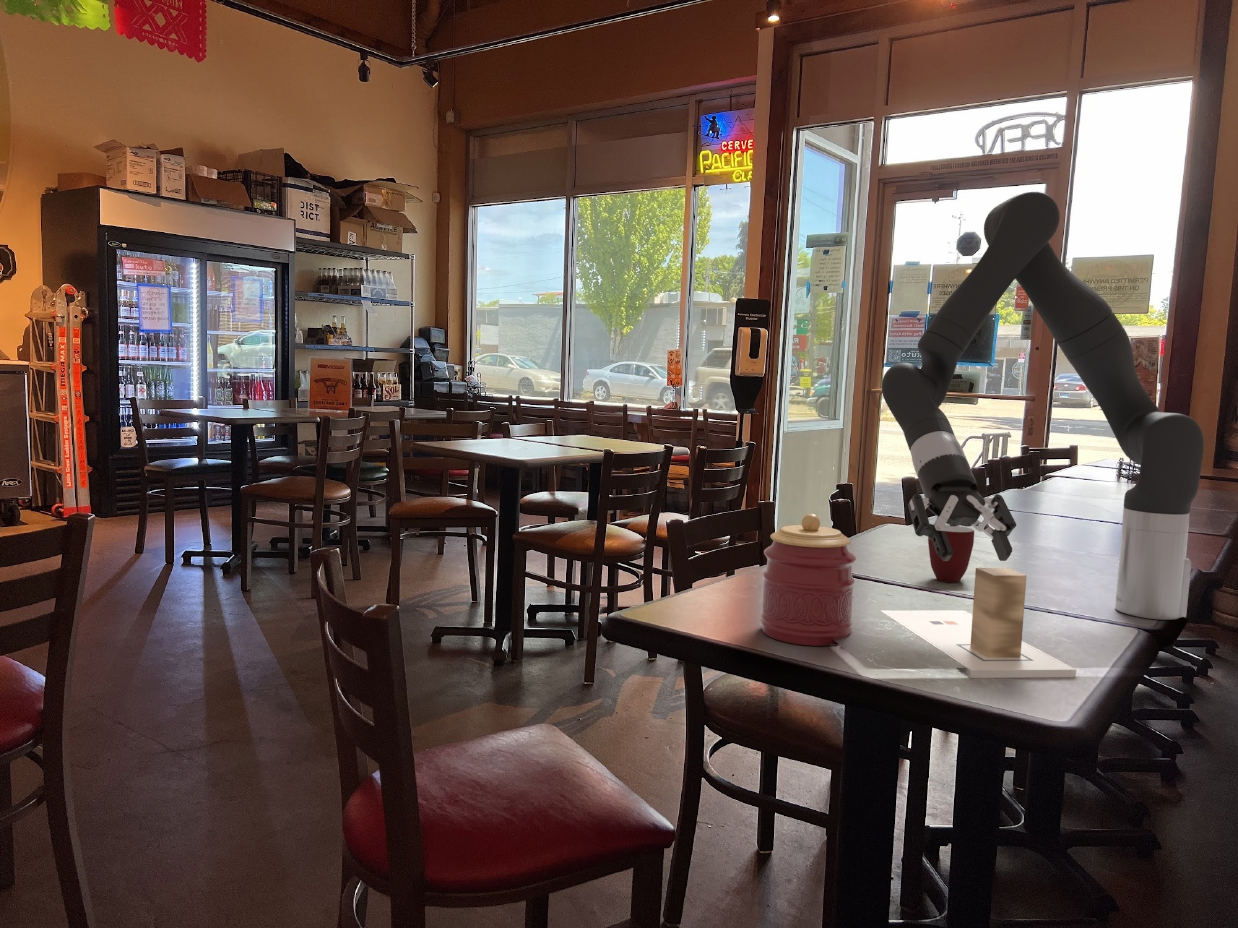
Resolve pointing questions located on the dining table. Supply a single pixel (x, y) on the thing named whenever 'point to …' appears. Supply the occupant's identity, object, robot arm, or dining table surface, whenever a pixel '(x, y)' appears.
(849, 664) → the dining table surface
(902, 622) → the board
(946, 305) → the robot arm
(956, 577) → the mug
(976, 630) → the oak block
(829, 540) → the canister
